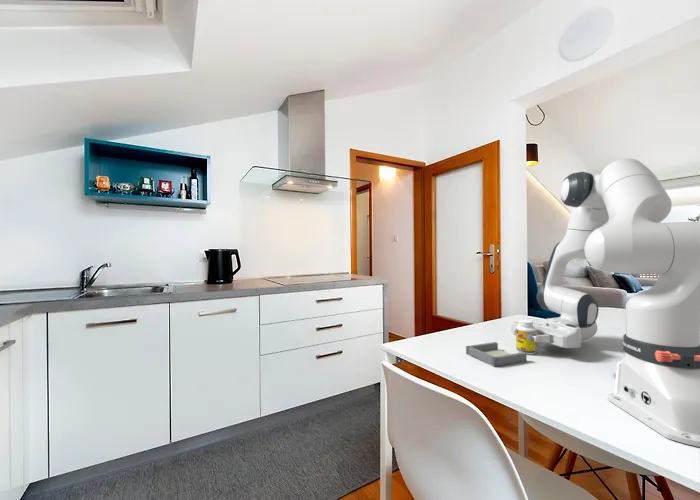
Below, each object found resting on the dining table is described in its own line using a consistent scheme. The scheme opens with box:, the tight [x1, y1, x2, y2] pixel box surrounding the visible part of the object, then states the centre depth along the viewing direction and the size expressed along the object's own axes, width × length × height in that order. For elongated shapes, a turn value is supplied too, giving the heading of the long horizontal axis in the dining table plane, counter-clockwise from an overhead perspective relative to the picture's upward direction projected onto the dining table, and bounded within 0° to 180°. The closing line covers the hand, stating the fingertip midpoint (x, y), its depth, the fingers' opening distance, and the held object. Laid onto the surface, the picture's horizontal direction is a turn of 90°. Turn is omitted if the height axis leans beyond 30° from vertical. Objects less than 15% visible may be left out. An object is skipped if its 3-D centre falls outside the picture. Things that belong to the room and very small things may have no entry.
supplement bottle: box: [515, 319, 537, 356], centre depth 100 cm, size 6×6×10 cm
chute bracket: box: [465, 341, 528, 368], centre depth 96 cm, size 12×12×2 cm
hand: (523, 335), depth 100 cm, fingers closed on supplement bottle, 6 cm apart
